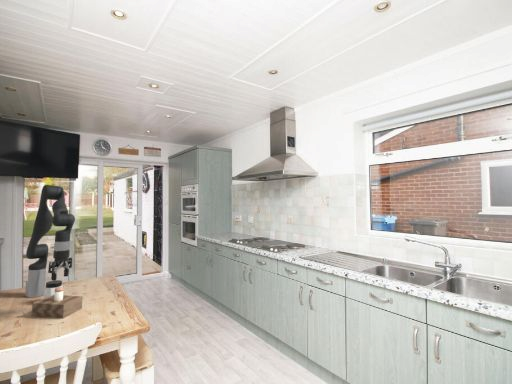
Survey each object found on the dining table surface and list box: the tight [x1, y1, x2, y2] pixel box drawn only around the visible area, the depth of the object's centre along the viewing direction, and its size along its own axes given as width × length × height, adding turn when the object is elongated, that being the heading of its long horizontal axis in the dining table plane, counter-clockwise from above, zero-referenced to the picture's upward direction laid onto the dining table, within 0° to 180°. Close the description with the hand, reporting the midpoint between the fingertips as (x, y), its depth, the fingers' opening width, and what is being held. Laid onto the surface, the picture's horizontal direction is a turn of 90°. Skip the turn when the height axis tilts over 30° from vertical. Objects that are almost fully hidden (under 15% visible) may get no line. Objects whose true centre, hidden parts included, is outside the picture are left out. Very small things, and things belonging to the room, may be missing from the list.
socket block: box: [31, 294, 84, 319], centre depth 153 cm, size 18×14×7 cm
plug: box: [54, 286, 64, 301], centre depth 153 cm, size 4×4×13 cm
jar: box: [43, 279, 63, 299], centre depth 169 cm, size 9×8×12 cm
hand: (60, 278), depth 154 cm, fingers open, 8 cm apart
